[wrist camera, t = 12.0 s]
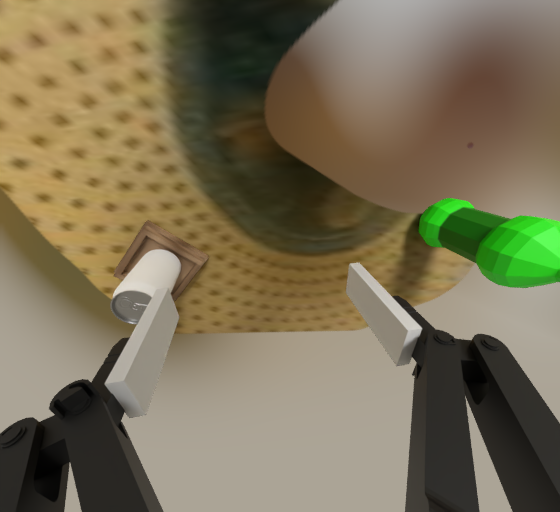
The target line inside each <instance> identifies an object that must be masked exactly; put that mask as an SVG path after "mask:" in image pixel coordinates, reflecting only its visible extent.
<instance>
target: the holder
mask: <svg viewBox="0 0 560 512" xmlns="http://www.w3.org/2000/svg"><path fill="white" fill-rule="evenodd" d="M156 249H162V250H167V251H169V252H171V253H173V254H174V255H175V256H176V257H177V258H178V259H179V261H180V263H181V271H180V274H179V276H178V278H177V280H176V283H175V285H174V287H173V289H172V291H171V296H172V299H173V301H174V300H176V299H177V298H178V297H179V295H180V294H181V293H182V292H183V290H184V289H185V288H186V286H187V285H188V284H189V282H190V281H191V280H192V279H193V277H194V276H195V275H196V273H197V272H198V271H199V269H200V268H201V267H202V266H203V264H204V263H205V262H206V260H207V259H208V257H209V256H208V255H206V254H205V253H203V252H201V251H200V250H198V249H196V248H194V247H193V246H191V245H189V244H188V243H186V242H184V241H183V240H181V239H179V238H177V237H176V236H174V235H172V234H171V233H169V232H167V231H166V230H164V229H162V228H160V227H159V226H157V225H155V224H154V223H152V222H150V221H149V220H147V221H146V222H145V224H144V225H143V227H142V228H141V230H140V232H139V233H138V235H137V236H136V238H135V239H134V241H133V243H132V244H131V246H130V247H129V249H128V250H127V252H126V254H125V255H124V257H123V258H122V260H121V261H120V263H119V265H118V266H117V268H116V269H115V271H114V272H115V274H114V276H115V277H117V278H119V279H121V280H124V279H125V277H126V276H127V275H128V274H129V273H130V271H131V270H132V269H133V268H134V267H135V265H136V264H137V263H138V262H139V261H140V260H141V258H142V257H143V256H144V255H145V254H146V253H148V252H149V251H152V250H156Z"/></svg>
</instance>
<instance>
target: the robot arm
mask: <svg viewBox="0 0 560 512" xmlns="http://www.w3.org/2000/svg"><path fill="white" fill-rule="evenodd" d="M346 294H347V295H348V296H349V298H350V299H351V301H352V302H353V304H354V305H355V307H356V308H357V309H358V311H359V312H360V314H361V315H362V317H363V318H364V320H365V321H366V323H367V324H368V325H369V327H370V328H371V330H372V331H373V332H374V334H375V336H376V337H377V338H378V340H379V341H380V343H381V344H382V346H383V347H384V348H385V350H386V351H387V353H388V354H389V356H390V357H391V359H392V360H393V362H394V363H395V364H396V366H400V365H405V364H409V363H410V360H411V358H412V357H413V358H414V360H415V361H416V362H417V364H416V366H415V368H414V371H413V374H412V375H413V376H414V375H415V378H414V392H413V406H412V407H413V408H412V422H411V435H410V449H409V464H408V478H407V492H406V507H405V512H479V504H478V496H477V488H476V480H475V472H474V464H473V456H472V448H471V440H470V431H469V423H468V416H467V407H466V399H465V396H466V398H467V401H468V403H469V406H470V408H471V411H472V413H473V415H474V418H475V420H476V423H477V425H478V428H479V430H480V432H481V435H482V437H483V440H484V442H485V445H486V447H487V450H488V452H489V455H490V457H491V460H492V462H493V464H494V467H495V469H496V472H497V474H498V477H499V479H500V482H501V484H502V486H503V489H504V492H505V494H506V496H507V499H508V501H509V504H510V506H511V509H512V511H513V512H560V423H559V422H558V420H557V419H556V417H555V416H554V415H553V413H552V412H551V410H550V409H549V407H548V406H547V404H546V403H545V401H544V400H543V399H542V397H541V396H540V394H539V393H538V391H537V390H536V388H535V387H534V386H533V384H532V383H531V381H530V380H529V378H528V377H527V375H526V374H525V373H524V371H523V370H522V368H521V367H520V365H519V364H518V363H517V361H516V360H515V358H514V357H513V355H512V354H511V353H510V351H509V350H508V348H507V347H506V346H505V345H504V344H503V343H502V342H501V341H499V340H498V339H496V338H494V337H491V336H489V335H485V334H477V335H475V336H474V337H473V339H472V340H461V339H455V338H454V337H453V336H451V335H450V334H449V333H447V332H444V331H440V330H435V329H434V328H433V327H432V326H431V325H430V324H429V323H428V322H427V321H426V320H425V319H424V318H423V317H422V316H421V315H420V314H419V313H418V312H416V310H415V309H414V308H413V307H411V305H410V304H409V303H408V302H407V301H406V300H404V299H402V298H401V297H399V296H391V295H390V294H389V293H388V292H387V291H386V290H385V289H384V288H383V287H382V286H381V285H380V284H379V283H378V282H377V281H376V280H375V279H374V278H373V277H372V276H371V275H370V274H369V272H368V271H367V270H366V269H365V268H364V267H363V266H362V265H361V264H360V263H352V264H349V272H348V280H347V288H346ZM178 320H179V315H178V312H177V310H176V307H175V304H174V301H173V299H172V296H171V293H170V290H169V288H162V289H157V290H156V291H155V293H154V295H153V297H152V299H151V300H150V302H149V304H148V306H147V308H146V309H145V311H144V313H143V315H142V317H141V319H140V320H139V322H138V324H137V326H136V328H135V330H134V331H133V333H132V335H131V337H129V338H122V339H121V340H120V341H119V342H118V343H117V344H116V345H114V346H113V348H112V349H111V351H110V353H109V354H108V357H107V358H106V359H105V361H104V364H103V365H102V366H101V368H100V369H99V371H98V372H97V374H96V376H95V377H94V379H93V381H92V382H90V381H89V380H83V379H82V380H78V381H75V382H73V383H71V384H69V385H67V386H66V387H64V388H63V389H62V390H61V391H59V392H58V393H57V394H56V395H55V396H54V398H53V399H52V401H51V403H50V407H49V409H50V410H51V411H52V412H53V413H54V414H55V415H54V416H52V417H50V418H47V419H45V420H43V421H41V422H38V421H37V420H36V419H34V418H25V419H22V420H20V421H17V422H16V423H14V424H13V425H11V426H9V427H8V428H7V429H5V430H4V431H3V432H2V433H1V434H0V512H64V507H65V499H66V489H67V481H68V472H69V462H70V463H71V467H72V471H73V476H74V480H75V484H76V488H77V492H78V497H79V501H80V506H81V510H82V512H163V510H162V507H161V505H160V503H159V501H158V499H157V497H156V494H155V492H154V490H153V488H152V486H151V484H150V481H149V479H148V477H147V475H146V473H145V470H144V469H143V466H142V464H141V462H140V460H139V458H138V455H137V453H136V451H135V449H134V447H133V445H132V442H131V440H130V438H129V436H128V434H127V431H126V429H125V427H124V425H123V423H122V422H121V419H122V417H123V414H124V412H125V413H126V414H127V416H128V417H129V418H133V417H138V416H143V415H146V414H147V411H148V408H149V405H150V402H151V399H152V396H153V394H154V391H155V388H156V385H157V382H158V379H159V376H160V373H161V370H162V367H163V364H164V361H165V358H166V355H167V352H168V349H169V346H170V343H171V340H172V337H173V335H174V332H175V329H176V326H177V323H178Z"/></svg>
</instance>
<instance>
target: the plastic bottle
mask: <svg viewBox="0 0 560 512" xmlns="http://www.w3.org/2000/svg"><path fill="white" fill-rule="evenodd" d="M418 230H419V233H420V235H421V236H422V238H423V239H424V241H425V242H426V244H428V245H429V246H432V247H442V248H447V249H449V250H451V251H453V252H455V253H457V254H459V255H461V256H463V257H465V258H467V259H469V260H471V261H473V262H475V263H477V265H478V267H479V269H480V270H481V272H482V274H483V275H484V276H485V277H486V278H488V279H489V280H490V281H492V282H494V283H496V284H498V285H502V286H508V287H517V288H519V287H520V288H528V287H534V286H541V285H546V284H551V283H555V282H560V222H559V221H555V220H551V219H545V218H538V217H531V216H518V217H515V218H513V219H509V218H505V217H502V216H498V215H494V214H491V213H487V212H483V211H479V210H476V209H474V207H473V206H472V205H471V204H470V203H469V202H467V201H463V200H458V199H452V198H447V199H443V200H441V201H439V202H437V203H435V204H433V205H431V206H430V207H428V209H426V210H425V212H424V213H423V214H422V216H421V218H420V223H419V229H418Z"/></svg>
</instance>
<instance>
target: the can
mask: <svg viewBox="0 0 560 512" xmlns="http://www.w3.org/2000/svg"><path fill="white" fill-rule="evenodd" d="M180 271H181V263H180V261H179V259H178V258H177V257H176V256H175V255H174V254H173V253H171V252H169V251H167V250H162V249H156V250H152V251H149V252H148V253H146V254H145V255H144V256H143V257H142V258H141V260H140V261H139V262H138V263H137V264H136V265H135V267H134V268H133V269H132V270H131V271H130V273H129V274H128V275H127V276H126V277H125V279H124V280H123V281H122V282H121V283H120V285H119V286H118V287H117V288H116V290H115V292H114V294H113V299H112V301H111V310H112V312H113V314H114V315H115V316H116V317H117V318H118V319H120V320H122V321H124V322H126V323H130V324H138V322H139V320H140V319H141V317H142V315H143V313H144V311H145V309H146V308H147V306H148V304H149V302H150V300H151V299H152V297H153V295H154V293H155V291H156V290H157V289H162V288H169V290H170V293H171V291H172V289H173V287H174V285H175V283H176V280H177V278H178V276H179V274H180Z"/></svg>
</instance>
